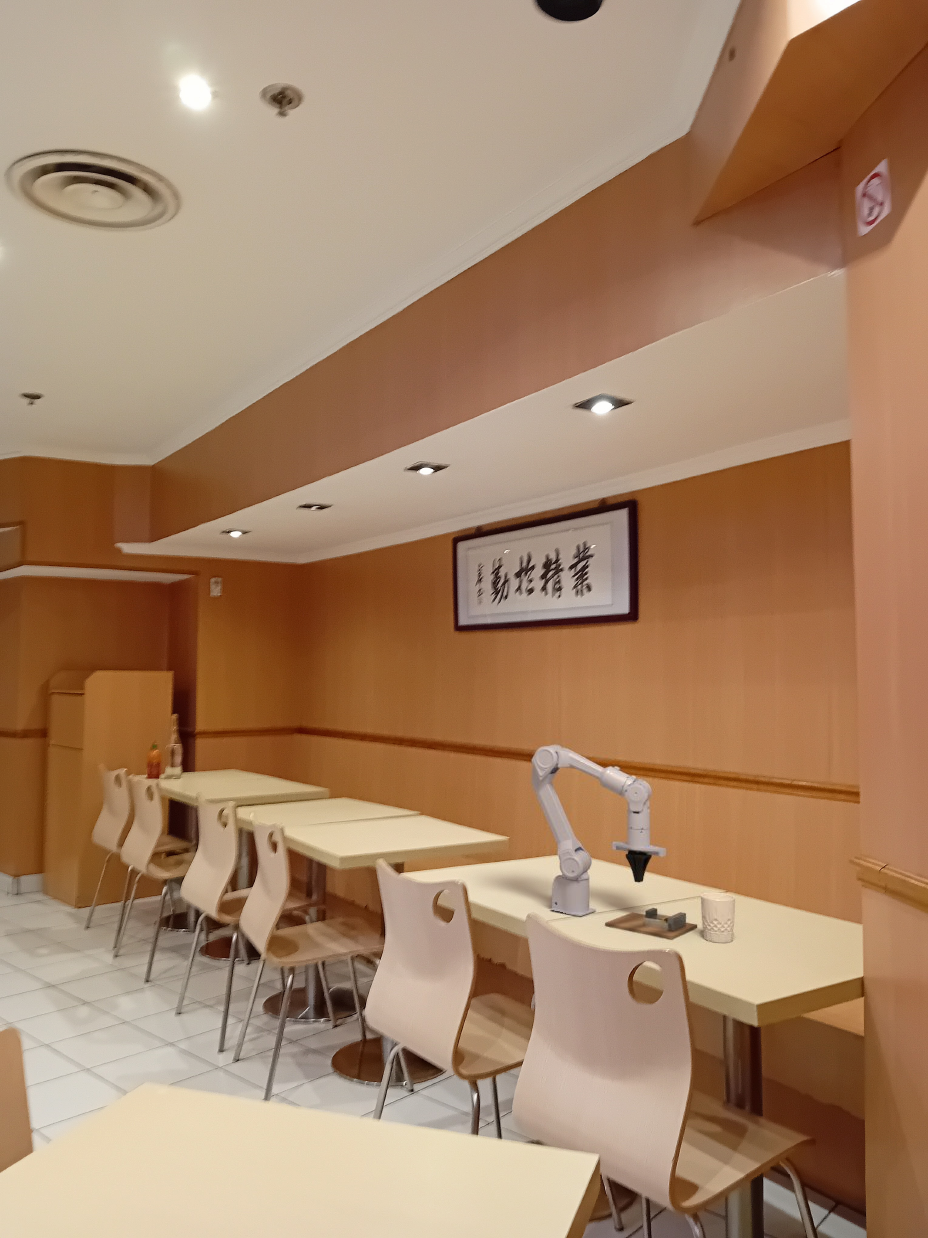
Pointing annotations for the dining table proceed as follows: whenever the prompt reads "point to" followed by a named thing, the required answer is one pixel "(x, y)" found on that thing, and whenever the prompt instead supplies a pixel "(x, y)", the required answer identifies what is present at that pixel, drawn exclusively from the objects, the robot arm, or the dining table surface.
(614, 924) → the walnut board
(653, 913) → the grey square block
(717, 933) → the white cup
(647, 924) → the gauge body
